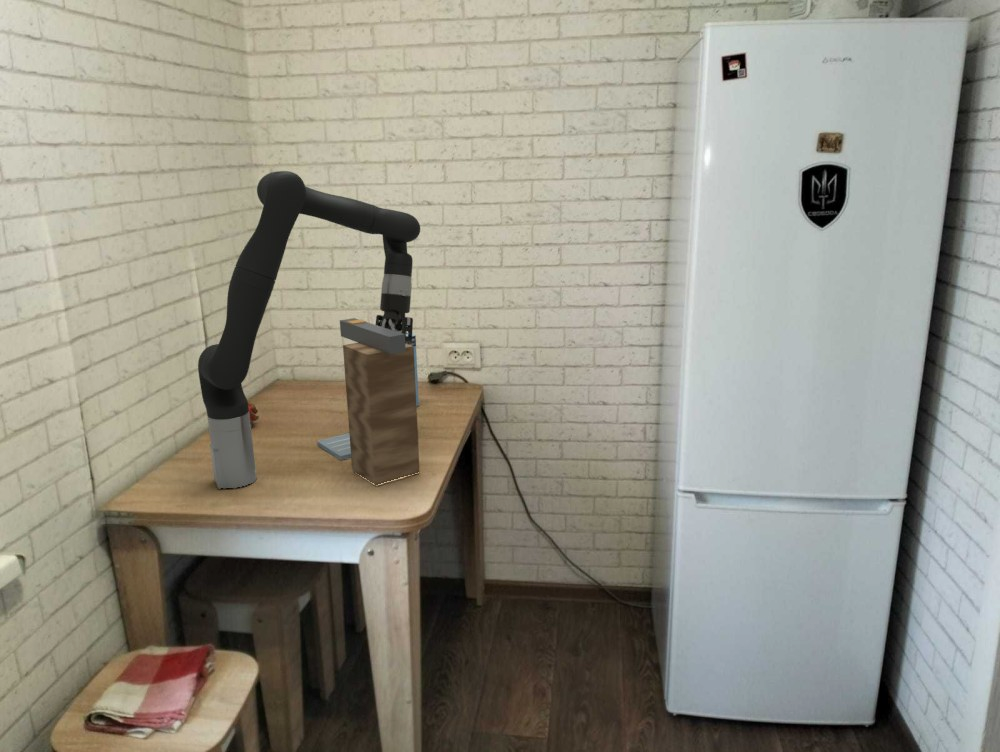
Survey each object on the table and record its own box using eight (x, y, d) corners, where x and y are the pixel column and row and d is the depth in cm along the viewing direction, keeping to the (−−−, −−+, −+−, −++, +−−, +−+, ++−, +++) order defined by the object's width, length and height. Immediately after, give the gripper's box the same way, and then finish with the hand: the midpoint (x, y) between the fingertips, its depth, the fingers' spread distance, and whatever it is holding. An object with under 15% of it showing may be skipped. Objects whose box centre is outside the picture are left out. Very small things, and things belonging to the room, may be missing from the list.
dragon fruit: (256, 425, 219) (237, 445, 208) (231, 409, 218) (211, 429, 207) (268, 405, 216) (250, 424, 205) (243, 389, 214) (223, 408, 204)
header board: (317, 445, 199) (316, 440, 198) (350, 436, 205) (350, 432, 204) (341, 460, 188) (340, 455, 188) (375, 451, 194) (375, 446, 194)
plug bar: (340, 336, 182) (339, 319, 181) (355, 333, 184) (354, 317, 183) (390, 354, 164) (389, 335, 162) (405, 351, 166) (404, 333, 165)
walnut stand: (352, 471, 181) (342, 345, 173) (394, 459, 189) (387, 337, 180) (376, 486, 172) (367, 354, 163) (419, 473, 179) (413, 346, 171)
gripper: (369, 291, 190) (364, 353, 191) (398, 292, 180) (393, 358, 181) (393, 294, 195) (388, 355, 196) (424, 295, 185) (418, 359, 185)
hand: (391, 356), depth 188 cm, fingers open, 8 cm apart
